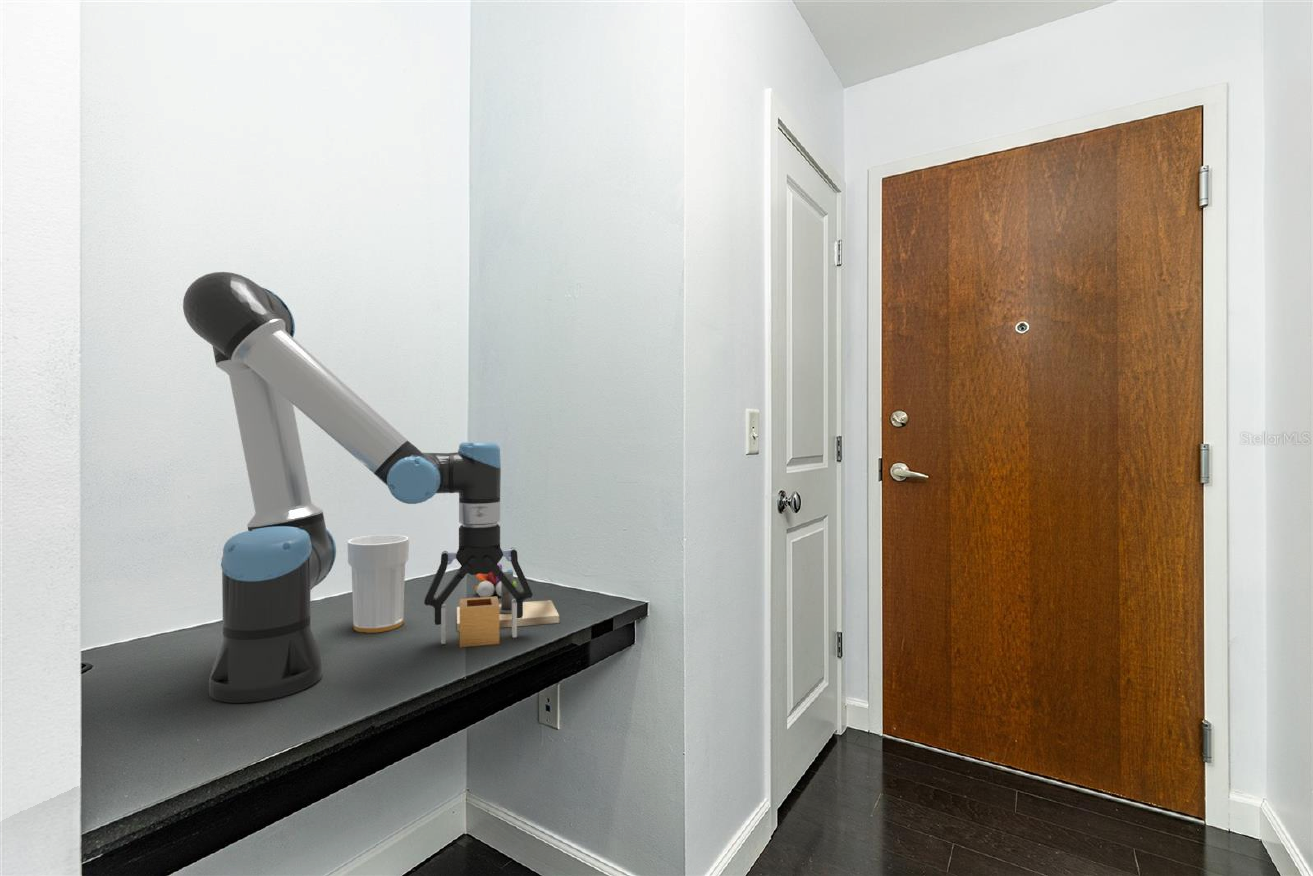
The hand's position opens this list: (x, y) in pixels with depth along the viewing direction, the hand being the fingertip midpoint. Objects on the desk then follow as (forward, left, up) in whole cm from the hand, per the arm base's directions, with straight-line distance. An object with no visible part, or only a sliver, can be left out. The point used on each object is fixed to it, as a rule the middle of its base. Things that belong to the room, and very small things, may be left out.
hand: (479, 638), depth 120 cm
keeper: (+6, +12, 0) cm, 13 cm away
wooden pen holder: (0, 0, 0) cm, 0 cm away
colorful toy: (+5, +32, -1) cm, 33 cm away
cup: (-19, +14, 0) cm, 24 cm away
